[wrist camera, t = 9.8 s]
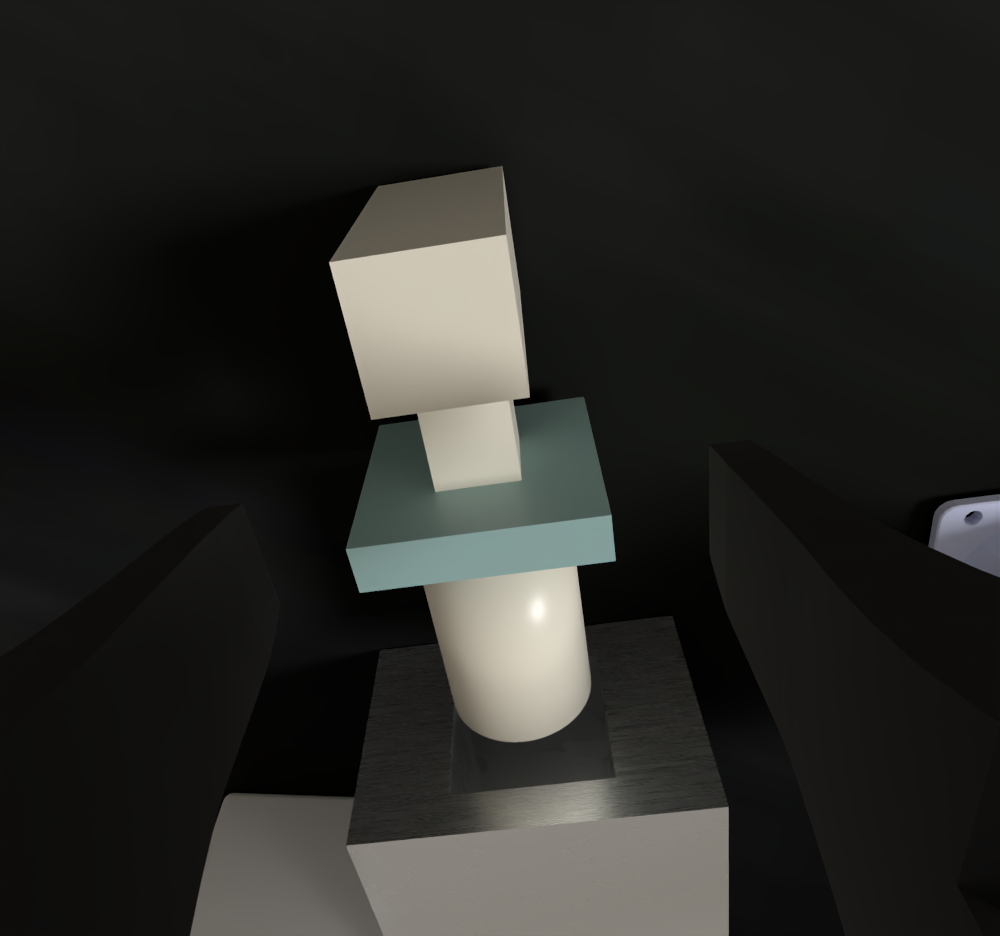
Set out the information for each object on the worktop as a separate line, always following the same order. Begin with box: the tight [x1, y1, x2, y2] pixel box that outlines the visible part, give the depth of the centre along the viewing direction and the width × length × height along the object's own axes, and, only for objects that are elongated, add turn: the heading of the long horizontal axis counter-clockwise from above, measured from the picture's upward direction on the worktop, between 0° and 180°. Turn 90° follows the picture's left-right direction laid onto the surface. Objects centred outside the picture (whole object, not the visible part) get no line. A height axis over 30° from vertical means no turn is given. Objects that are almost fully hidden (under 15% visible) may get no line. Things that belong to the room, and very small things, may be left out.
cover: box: [329, 166, 616, 742], centre depth 19 cm, size 6×14×6 cm, turn 9°
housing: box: [346, 616, 729, 936], centre depth 25 cm, size 10×9×7 cm
